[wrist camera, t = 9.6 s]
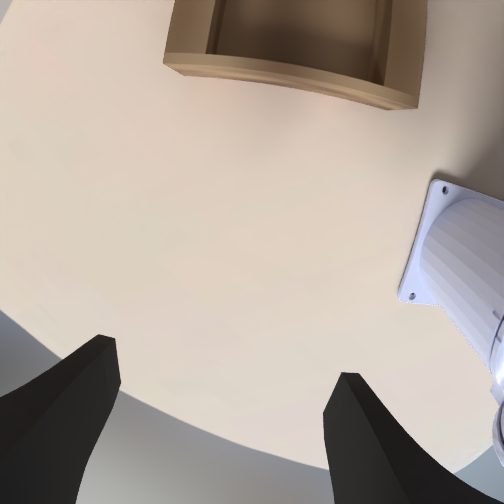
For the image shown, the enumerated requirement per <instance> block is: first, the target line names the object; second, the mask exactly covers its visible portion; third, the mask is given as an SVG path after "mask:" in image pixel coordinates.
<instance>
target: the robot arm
mask: <svg viewBox="0 0 504 504" xmlns="http://www.w3.org/2000/svg"><path fill="white" fill-rule="evenodd" d="M444 186H445V187H446V191H445V192H444V193H443V192H442V189H443V187H444ZM411 293H414V294H413V295H412V296H411V297H409V295H410V294H411ZM397 296H398V298H399V300H400V301H402V302H408V303H417V304H427V305H437V306H440V307H441V308H442V309H443V310H444V312H445V313H446V314H447V315H448V317H449V318H450V319H451V320H452V322H453V323H454V324H455V326H456V327H457V328H458V329H459V331H460V332H461V333H462V335H463V336H464V337H465V338H466V340H467V341H468V342H469V344H470V345H471V346H472V348H473V349H474V350H475V352H476V353H477V355H478V356H479V357H480V359H481V360H482V361H483V363H484V364H485V366H486V367H487V368H488V370H489V371H490V373H491V374H492V375H493V379H494V380H493V385H492V388H491V390H490V392H491V393H492V395H493V397H494V398H495V400H496V401H497V403H498V405H499V406H500V407H499V409H498V411H497V413H496V415H495V418H494V421H493V428H492V439H493V444H494V449H495V451H496V454H497V456H498V458H499V460H500V462H501V464H502V465H503V466H504V201H501V200H498V199H496V198H493V197H490V196H488V195H485V194H482V193H479V192H476V191H473V190H471V189H468V188H465V187H462V186H459V185H456V184H452V183H449V182H446V181H443V180H440V179H434V180H433V181H432V182H431V183H430V186H429V190H428V195H427V199H426V203H425V206H424V210H423V214H422V218H421V221H420V225H419V228H418V232H417V235H416V239H415V242H414V245H413V248H412V252H411V255H410V258H409V261H408V264H407V267H406V270H405V273H404V276H403V279H402V282H401V285H400V287H399V290H398V294H397ZM120 384H121V379H120V372H119V365H118V358H117V350H116V341H115V338H112V337H108V336H104V335H100V334H98V335H97V336H95V337H94V338H92V339H91V340H89V341H88V342H87V343H85V344H84V345H82V346H81V347H80V348H78V349H77V350H76V351H74V352H73V353H71V354H70V355H69V356H67V357H66V358H65V359H63V360H62V361H60V362H59V363H58V364H56V365H55V366H53V367H52V368H50V369H49V370H47V371H46V372H44V373H42V374H41V375H39V376H38V377H36V378H35V379H33V380H31V381H30V382H28V383H27V384H25V385H23V386H21V387H20V388H18V389H16V390H14V391H12V392H10V393H8V394H6V395H4V396H2V397H0V504H75V503H76V499H77V495H78V491H79V487H80V484H81V481H82V477H83V473H84V470H85V467H86V465H87V462H88V460H89V457H90V455H91V453H92V451H93V449H94V446H95V444H96V442H97V440H98V438H99V436H100V434H101V432H102V430H103V427H104V425H105V423H106V421H107V419H108V417H109V415H110V413H111V410H112V408H113V406H114V403H115V400H116V397H117V394H118V391H119V387H120ZM323 425H324V441H325V447H326V453H327V459H328V464H329V470H330V476H331V481H332V486H333V493H334V502H335V504H504V503H503V502H500V501H498V500H496V499H494V498H492V497H489V496H487V495H485V494H484V493H482V492H480V491H478V490H476V489H475V488H473V487H471V486H469V485H468V484H467V483H465V482H463V481H462V480H460V479H459V478H458V477H456V476H455V475H453V474H452V473H451V472H449V471H448V470H447V469H445V468H444V467H443V466H442V465H440V464H439V463H438V462H437V461H436V460H435V459H433V458H432V457H431V456H430V455H429V454H428V453H427V452H426V451H425V450H424V449H422V448H421V447H420V446H419V445H418V444H417V443H416V441H415V440H414V439H413V438H412V437H411V436H410V435H409V434H408V433H407V432H406V431H405V430H404V429H403V427H402V426H401V425H400V424H399V423H398V422H397V420H396V419H395V418H394V417H393V416H392V414H391V413H390V412H389V411H388V410H387V408H386V407H385V406H384V405H383V403H382V402H381V401H380V399H379V398H378V397H377V396H376V394H375V393H374V392H373V390H372V389H371V388H370V387H369V385H368V384H367V383H366V381H365V380H364V379H363V378H362V376H361V375H360V374H359V373H345V372H341V375H340V377H339V379H338V381H337V384H336V386H335V388H334V390H333V393H332V395H331V397H330V399H329V401H328V403H327V405H326V408H325V410H324V412H323Z"/></svg>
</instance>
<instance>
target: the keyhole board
mask: <svg viewBox="0 0 504 504" xmlns="http://www.w3.org/2000/svg"><path fill="white" fill-rule="evenodd" d="M426 19H427V0H175V3H174V8H173V12H172V17H171V22H170V27H169V32H168V37H167V42H166V47H165V53H164V59H163V64H165V65H167V66H168V67H170V68H172V69H173V70H175V71H177V72H179V73H180V74H182V75H184V76H200V77H213V78H224V79H233V80H242V81H250V82H258V83H265V84H272V85H278V86H284V87H290V88H296V89H301V90H306V91H311V92H316V93H321V94H326V95H330V96H334V97H339V98H343V99H347V100H351V101H355V102H359V103H363V104H367V105H370V106H374V107H377V108H381V109H384V110H399V109H418V102H419V95H420V88H421V79H422V71H423V61H424V50H425V37H426Z"/></svg>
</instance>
